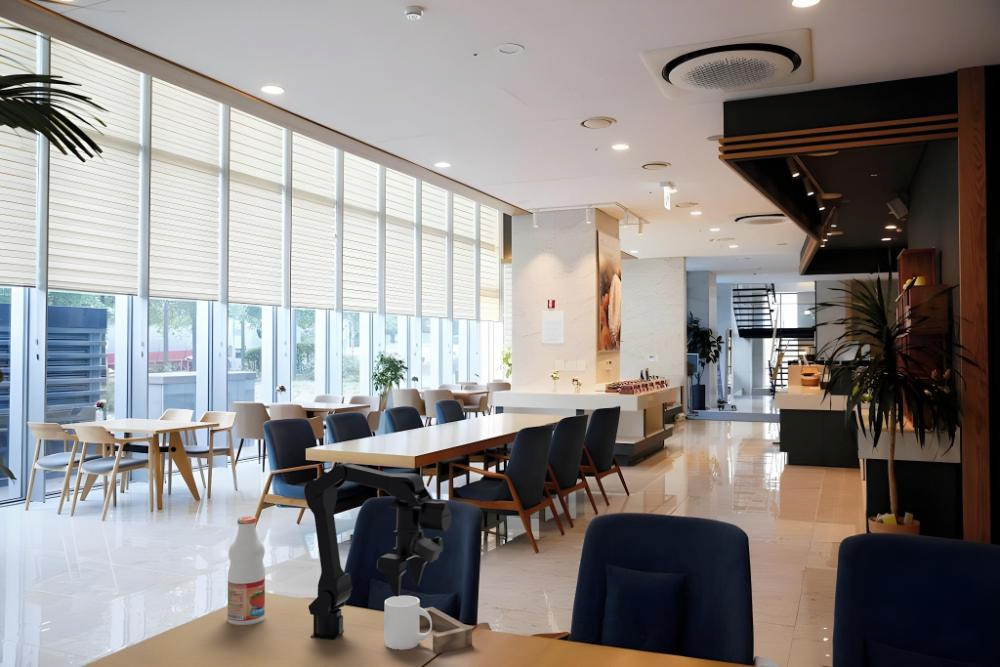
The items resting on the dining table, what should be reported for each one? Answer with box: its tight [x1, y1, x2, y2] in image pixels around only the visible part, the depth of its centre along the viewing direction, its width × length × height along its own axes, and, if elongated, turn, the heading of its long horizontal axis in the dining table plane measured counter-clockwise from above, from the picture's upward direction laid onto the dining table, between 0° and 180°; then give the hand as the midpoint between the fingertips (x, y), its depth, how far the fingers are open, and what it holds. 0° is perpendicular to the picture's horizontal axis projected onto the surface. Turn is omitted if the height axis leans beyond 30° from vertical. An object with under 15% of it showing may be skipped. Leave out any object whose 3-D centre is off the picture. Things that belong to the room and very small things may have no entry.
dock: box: [419, 606, 473, 654], centre depth 197 cm, size 10×20×4 cm, turn 34°
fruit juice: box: [226, 516, 266, 626], centre depth 206 cm, size 9×9×28 cm
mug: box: [383, 595, 433, 651], centre depth 192 cm, size 9×12×11 cm
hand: (406, 590), depth 189 cm, fingers open, 9 cm apart
